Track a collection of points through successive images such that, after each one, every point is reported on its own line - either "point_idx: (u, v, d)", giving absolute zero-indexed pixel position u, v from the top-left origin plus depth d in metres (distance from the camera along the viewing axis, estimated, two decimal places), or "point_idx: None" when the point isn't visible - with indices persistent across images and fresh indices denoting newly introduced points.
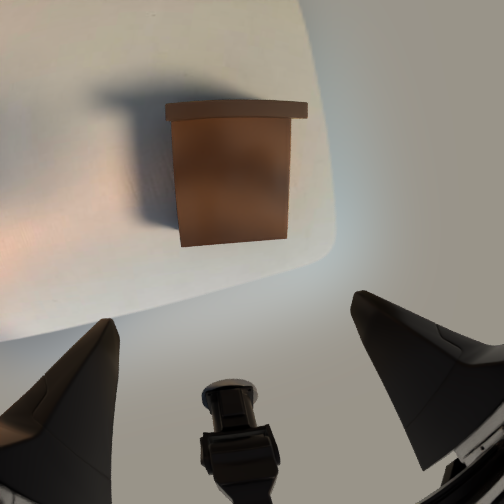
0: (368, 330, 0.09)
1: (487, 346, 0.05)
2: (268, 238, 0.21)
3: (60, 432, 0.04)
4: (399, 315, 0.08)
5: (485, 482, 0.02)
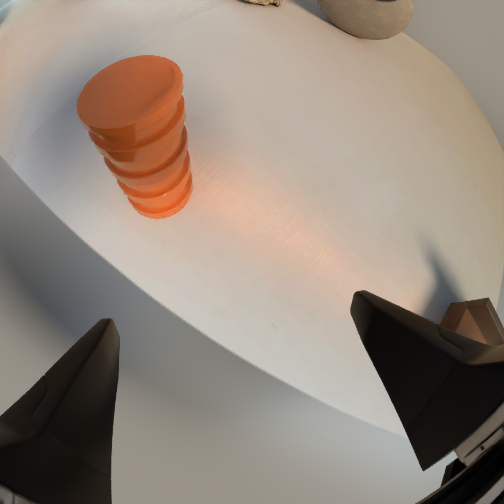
0: (368, 330, 0.09)
1: (487, 346, 0.05)
2: None
3: (60, 432, 0.04)
4: (399, 315, 0.08)
5: (485, 482, 0.02)
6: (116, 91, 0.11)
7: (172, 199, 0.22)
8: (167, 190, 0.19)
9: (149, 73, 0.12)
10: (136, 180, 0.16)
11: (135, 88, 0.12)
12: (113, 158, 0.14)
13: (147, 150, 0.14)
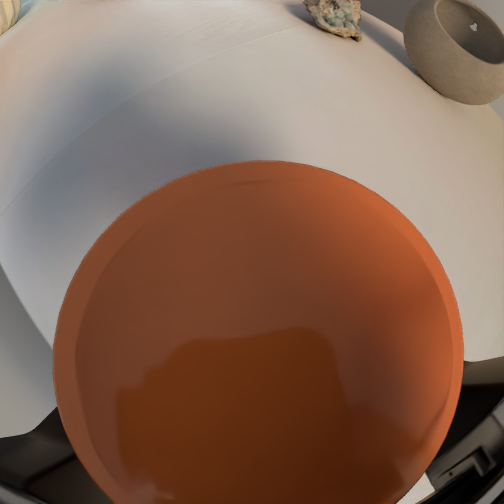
0: None
1: None
2: None
3: None
4: None
5: (485, 482, 0.02)
6: (247, 413, 0.03)
7: None
8: None
9: (379, 314, 0.03)
10: None
11: (337, 412, 0.03)
12: None
13: None
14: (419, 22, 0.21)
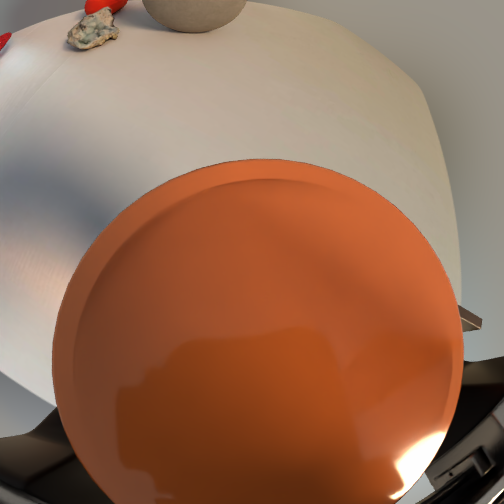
0: None
1: None
2: None
3: None
4: None
5: (485, 482, 0.02)
6: (246, 412, 0.03)
7: None
8: None
9: (379, 312, 0.03)
10: None
11: (336, 411, 0.03)
12: None
13: None
14: None
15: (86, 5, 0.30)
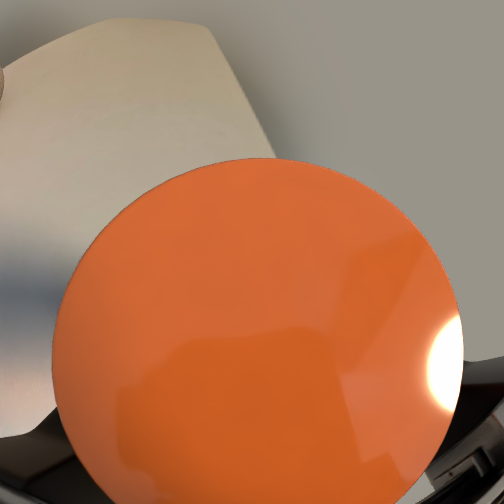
0: None
1: (463, 362, 0.05)
2: None
3: None
4: None
5: (485, 482, 0.02)
6: (246, 410, 0.03)
7: None
8: None
9: (378, 312, 0.03)
10: None
11: (336, 410, 0.03)
12: None
13: None
14: None
15: None
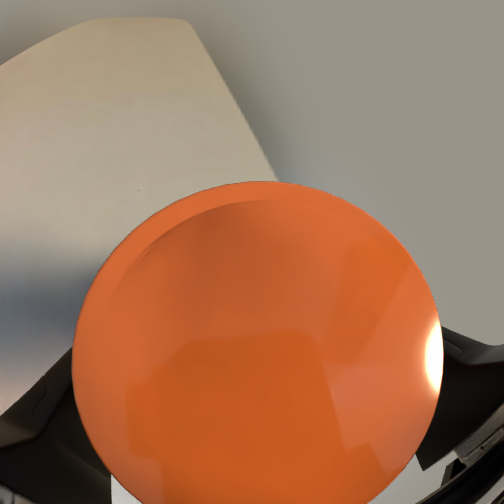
0: None
1: (487, 346, 0.05)
2: None
3: (60, 432, 0.04)
4: None
5: (485, 482, 0.02)
6: (242, 404, 0.03)
7: None
8: None
9: (360, 320, 0.04)
10: None
11: (321, 406, 0.03)
12: None
13: None
14: None
15: None
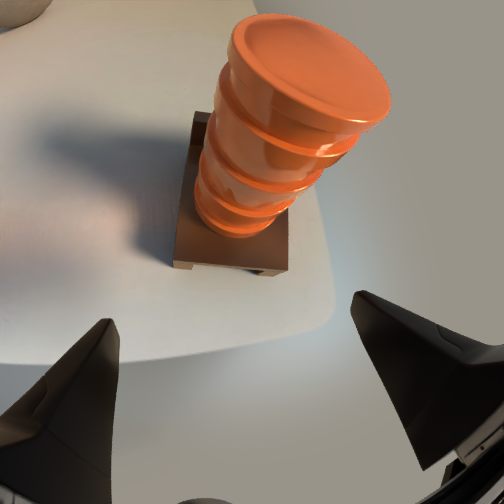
0: (368, 330, 0.09)
1: (487, 346, 0.05)
2: (268, 266, 0.19)
3: (60, 432, 0.04)
4: (399, 315, 0.08)
5: (485, 482, 0.02)
6: (304, 52, 0.07)
7: (258, 222, 0.17)
8: (266, 212, 0.15)
9: (348, 59, 0.08)
10: (250, 189, 0.12)
11: (333, 67, 0.07)
12: (248, 146, 0.09)
13: (308, 162, 0.09)
14: None
15: None
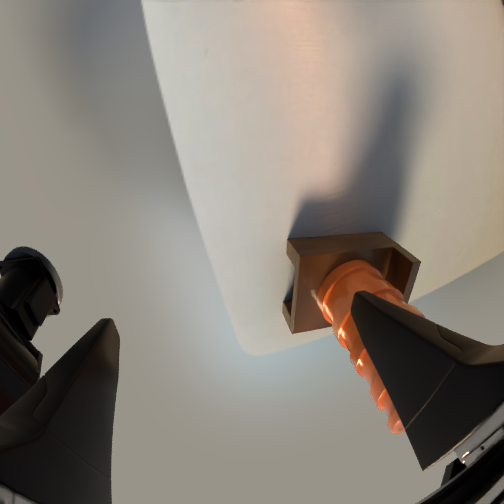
0: (368, 330, 0.09)
1: (487, 346, 0.05)
2: (294, 321, 0.23)
3: (60, 432, 0.04)
4: (399, 315, 0.08)
5: (485, 482, 0.02)
6: None
7: (331, 320, 0.21)
8: (340, 337, 0.19)
9: None
10: (361, 349, 0.16)
11: None
12: None
13: (375, 395, 0.14)
14: None
15: None
